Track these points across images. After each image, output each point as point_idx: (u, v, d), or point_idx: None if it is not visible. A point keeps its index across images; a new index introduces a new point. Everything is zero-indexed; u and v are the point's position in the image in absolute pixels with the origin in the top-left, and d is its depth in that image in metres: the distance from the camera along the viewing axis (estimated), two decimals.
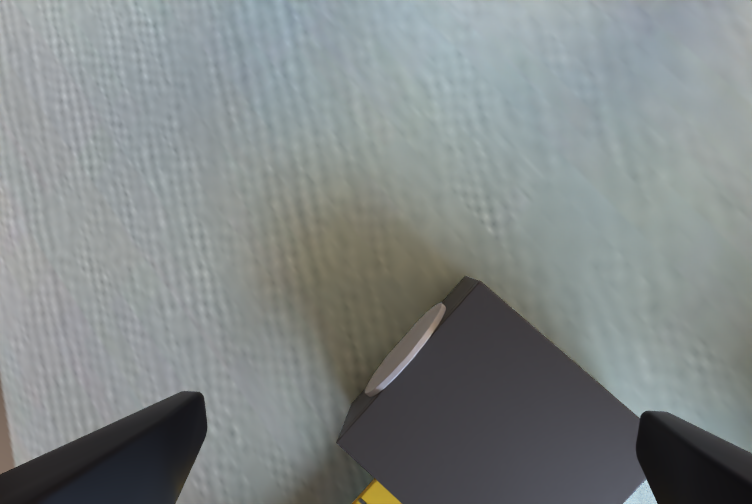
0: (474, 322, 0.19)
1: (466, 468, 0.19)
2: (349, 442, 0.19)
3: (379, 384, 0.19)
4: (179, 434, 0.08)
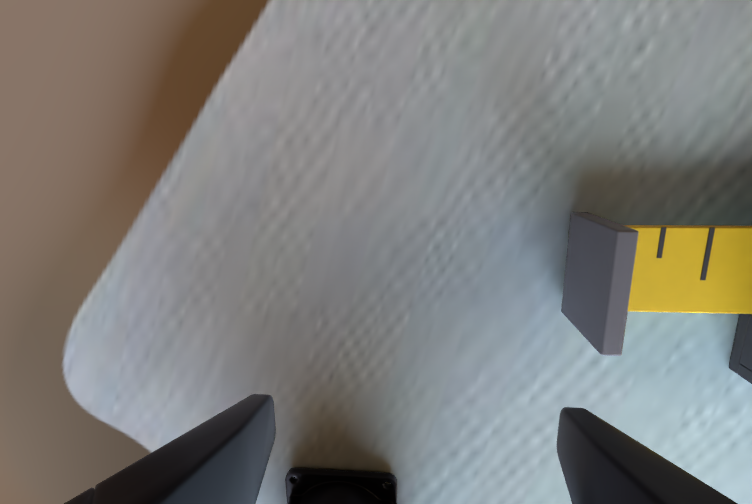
0: None
1: None
2: None
3: None
4: (256, 438, 0.08)
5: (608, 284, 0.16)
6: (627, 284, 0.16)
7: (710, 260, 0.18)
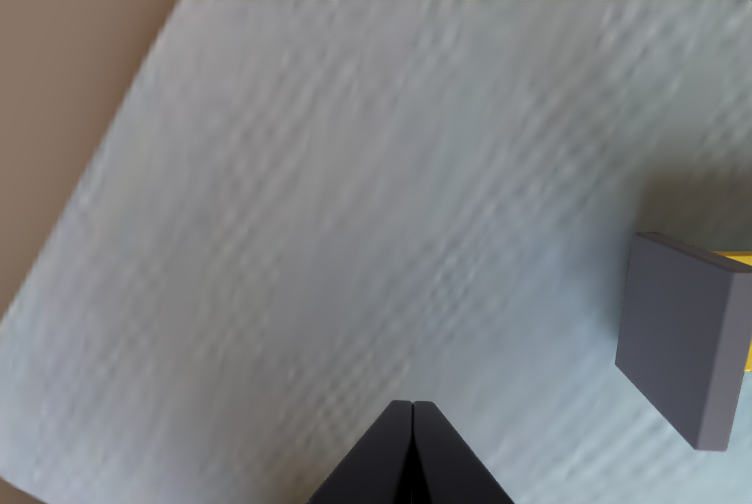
0: None
1: None
2: None
3: None
4: None
5: (712, 348, 0.10)
6: (743, 350, 0.10)
7: None
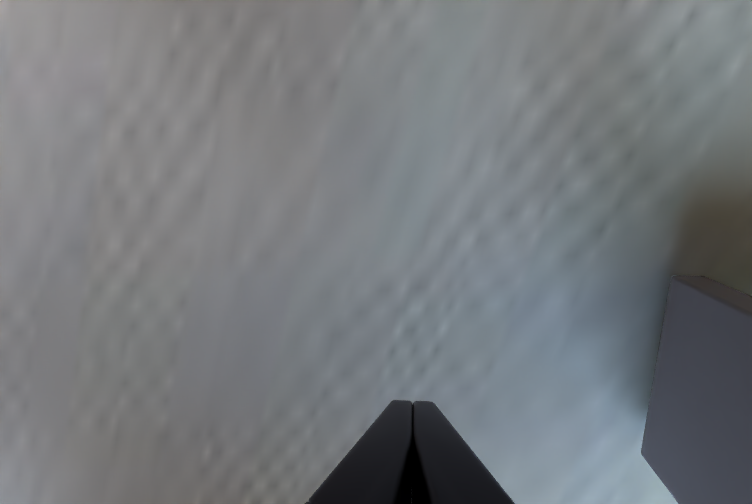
0: None
1: None
2: None
3: None
4: None
5: None
6: None
7: None
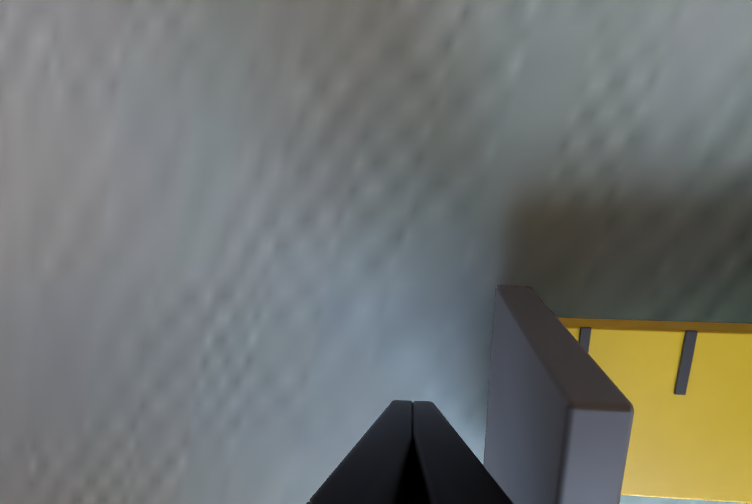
0: None
1: None
2: None
3: None
4: None
5: None
6: None
7: None
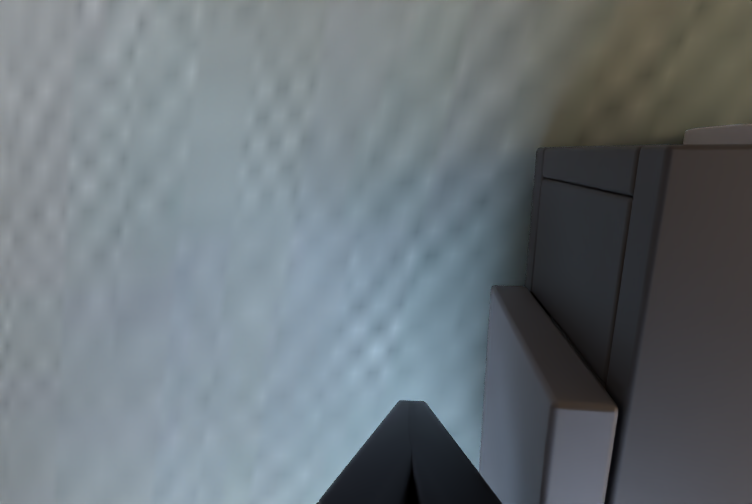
0: None
1: None
2: (706, 191, 0.04)
3: None
4: None
5: None
6: None
7: None
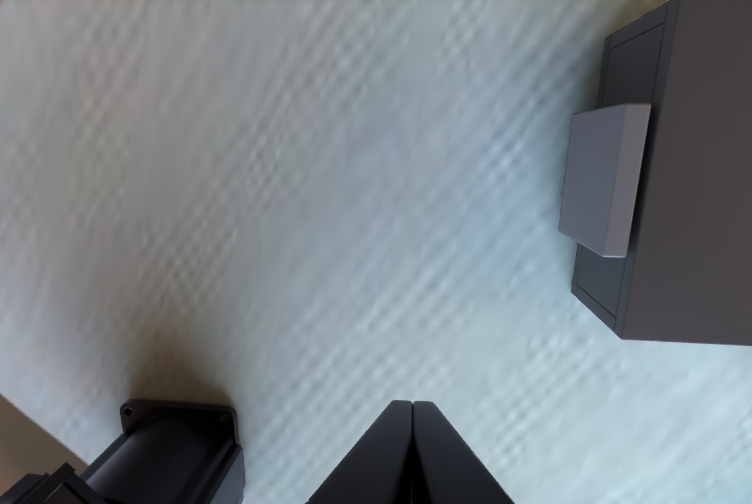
0: None
1: None
2: (693, 10, 0.12)
3: None
4: None
5: (613, 170, 0.14)
6: (636, 169, 0.13)
7: None
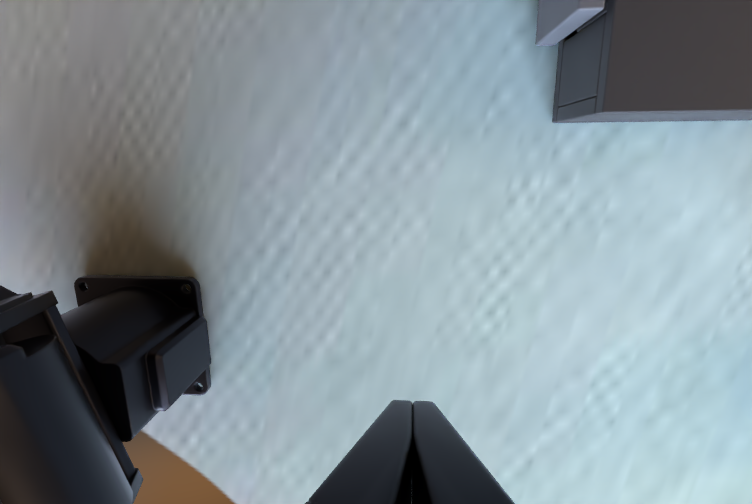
0: None
1: None
2: None
3: None
4: None
5: None
6: None
7: None
